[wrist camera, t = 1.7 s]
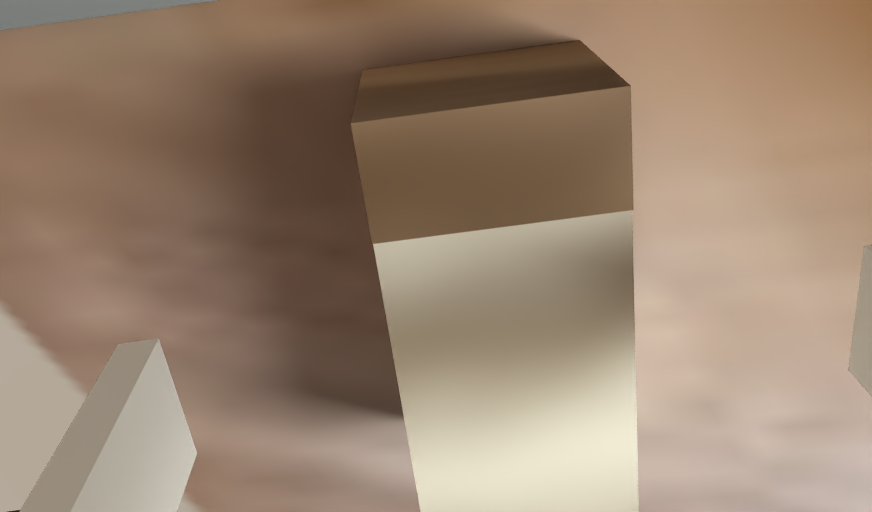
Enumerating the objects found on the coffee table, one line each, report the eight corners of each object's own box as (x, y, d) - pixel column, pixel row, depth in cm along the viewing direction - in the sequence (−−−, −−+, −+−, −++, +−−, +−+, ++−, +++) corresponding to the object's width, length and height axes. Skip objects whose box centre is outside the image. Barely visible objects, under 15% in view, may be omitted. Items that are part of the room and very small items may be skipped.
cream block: (596, 396, 22) (640, 511, 18) (420, 418, 23) (424, 538, 18) (580, 40, 18) (630, 85, 14) (362, 69, 18) (350, 123, 14)
